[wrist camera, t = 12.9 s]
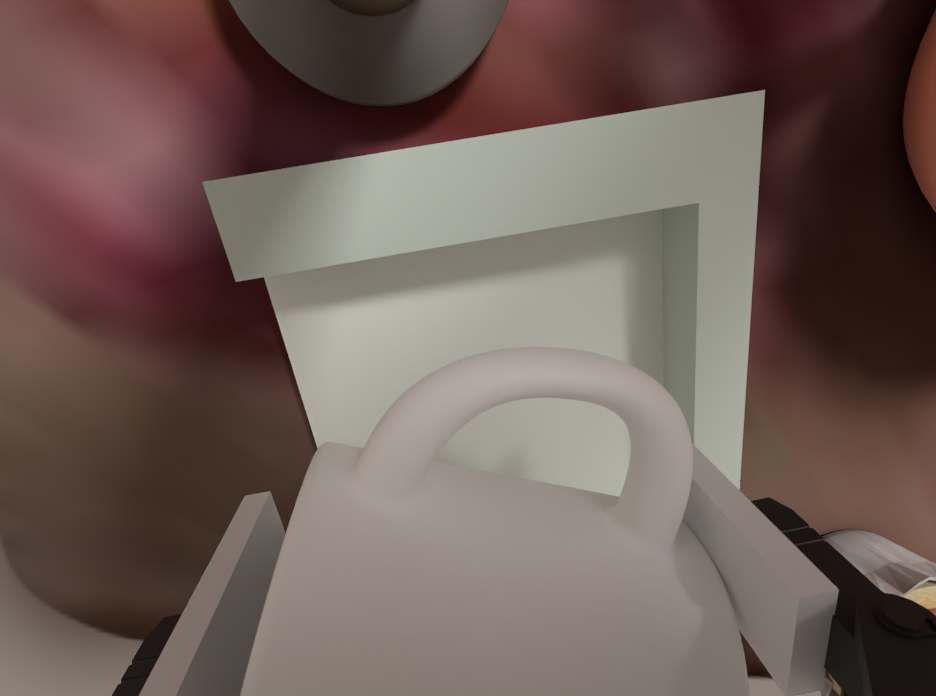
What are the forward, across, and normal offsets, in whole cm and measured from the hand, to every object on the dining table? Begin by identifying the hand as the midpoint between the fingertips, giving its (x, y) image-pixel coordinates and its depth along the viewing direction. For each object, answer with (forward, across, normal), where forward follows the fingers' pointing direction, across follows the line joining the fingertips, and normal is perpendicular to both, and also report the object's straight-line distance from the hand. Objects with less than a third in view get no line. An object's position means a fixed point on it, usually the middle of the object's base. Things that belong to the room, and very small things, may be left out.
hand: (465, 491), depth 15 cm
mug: (+1, 0, 0) cm, 1 cm away
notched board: (+6, +3, 0) cm, 7 cm away
